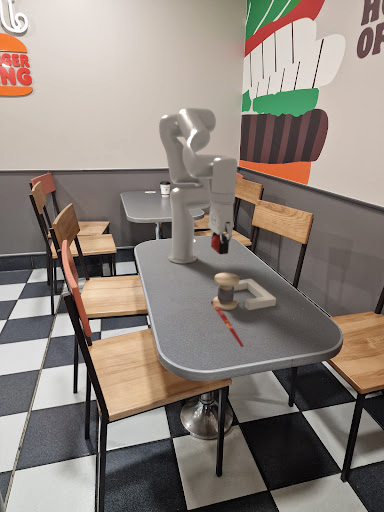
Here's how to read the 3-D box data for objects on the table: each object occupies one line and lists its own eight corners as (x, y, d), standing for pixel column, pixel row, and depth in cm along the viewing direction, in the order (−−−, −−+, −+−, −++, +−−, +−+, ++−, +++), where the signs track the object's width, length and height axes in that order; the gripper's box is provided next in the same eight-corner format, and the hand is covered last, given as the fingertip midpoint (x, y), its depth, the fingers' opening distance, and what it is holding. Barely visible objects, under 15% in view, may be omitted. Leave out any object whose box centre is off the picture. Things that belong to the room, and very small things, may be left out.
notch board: (226, 288, 115) (227, 282, 114) (250, 284, 119) (251, 278, 118) (248, 310, 101) (249, 303, 100) (275, 305, 105) (276, 298, 104)
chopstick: (239, 348, 84) (240, 345, 84) (210, 303, 106) (210, 301, 105) (246, 347, 85) (247, 344, 84) (216, 303, 106) (216, 300, 106)
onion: (210, 249, 111) (211, 227, 108) (227, 250, 111) (228, 228, 108) (210, 255, 106) (211, 233, 103) (227, 256, 106) (229, 233, 103)
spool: (209, 299, 107) (210, 274, 103) (230, 296, 110) (232, 271, 106) (219, 311, 100) (221, 284, 96) (241, 307, 103) (244, 281, 99)
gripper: (202, 193, 108) (200, 243, 114) (222, 203, 93) (219, 260, 99) (222, 192, 110) (219, 241, 117) (245, 202, 95) (240, 258, 102)
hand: (219, 249), depth 108 cm, fingers closed on onion, 5 cm apart
